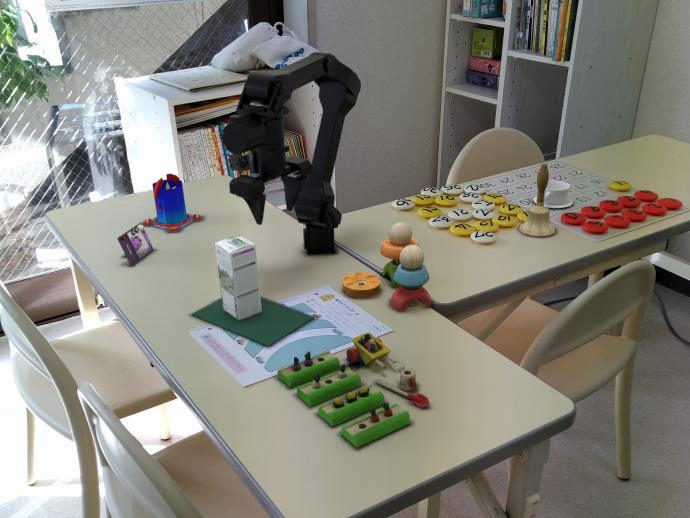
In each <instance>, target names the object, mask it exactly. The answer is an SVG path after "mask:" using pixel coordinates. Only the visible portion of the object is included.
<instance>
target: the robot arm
mask: <svg viewBox="0 0 690 518" xmlns="http://www.w3.org/2000/svg"><path fill="white" fill-rule="evenodd" d="M312 82H314V84H315V85H316V86H317V87H318V99H319V103H320V105H321V109H322V113H321V117H320V123H319V127H318V132H317V137H316V141H315V145H314V151H313V154H312V159H311V161H310V160H309V159H307V158H303V157H300V156H299V157H298V156H294V155H291V156H288V157H286V153H288V152H290V145H287V144H285V130H284V129H285V128H284V127H285V126H284V115H287V114H290V109H289V108H288V107H287V106H285V105H284V104H286V103H287V102H288V101H289V100H291V98H292V96H293V92H295V91H297V90H298V89H300V88H302V87H305V86H306V85H308V84H310V83H312ZM361 89H362V81H361V79H360V78H359V76H358V73H356V72H354V70H353V69H352V68H350V67H349V66H347V65H346V64H345V63H342V62H341V61H339V59H338V58H337V57H336V55H334V54H333V53H329V52H321V51H313V52H311V53H310V54H309V55H308V56H305V57H303V58H301V59H298V60H296V61H294V62H292V63H290V64H288V65H286V66H283V67H281V68H279V69H265V70H256V71H252V72H250V73H249V74H248V75H247V76H246V80H245V82H244V85H243V88H242V91H241V94H240V97H239V100H238V103H237V106H236V108H235V112H236V113H237V114H233V115H232V114H231V115H229V117H228V122H229V123H227V124H226V125H225V126H224V127H223V129H222V134H221V140H222V142H223V145H224V147H225V148H226V150H227V152H229V153H230V154H229V155H228V164H229V167H230V170H231V171H237V173H238V174H242V173H243V172H247V171H249V174H252V175H257V176H251V175H248V174H242V175H239V176H236V177H234V178H232V179H231V180H230V181H229V182H228V187H229V194H231V195H234V196H236V197H238V198H241V199H243V200H244V201H245V203H246V205H247V207H248V209H249V210H250V212H251V214H252V217H253V218H254V221H255V223H256V225H259V226H262V225H263V221H264V214H265V209H266V208H265V207H266V199H267V195H266V194H265V191H266V185H267V184H269V183H272V182H274V181H276V180H279V179H280V181H281V182H282V184H283V192H284V200H285V207H286V210H287V211H288V212H292V211H294V213H295V216H296V219H297V222H298V224H304V226H305V227H303V228H302V235H303V248H304V250H306V254H307V255H308V256H312V255H328V254H336V253H337V250H336V246H335V244H336V243H335V241H336V240H335V229H338V228H339V225H341V223H342V217H343V214H342V212H340V210H339V209H338V208H337V207H336V206H335V200H336V195H335V192H334V189H333V186H332V179H333V174H334V171H335V165H336V160H337V156H338V151H339V146H340V142H341V138H342V133H343V129H344V123H345V119H346V116H347V115H348V114H349V113H350V111H352V109H353V108H355V106H356V104H357V101H358V98H359V95H360V92H361ZM247 152H248V153H247Z"/></svg>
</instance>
